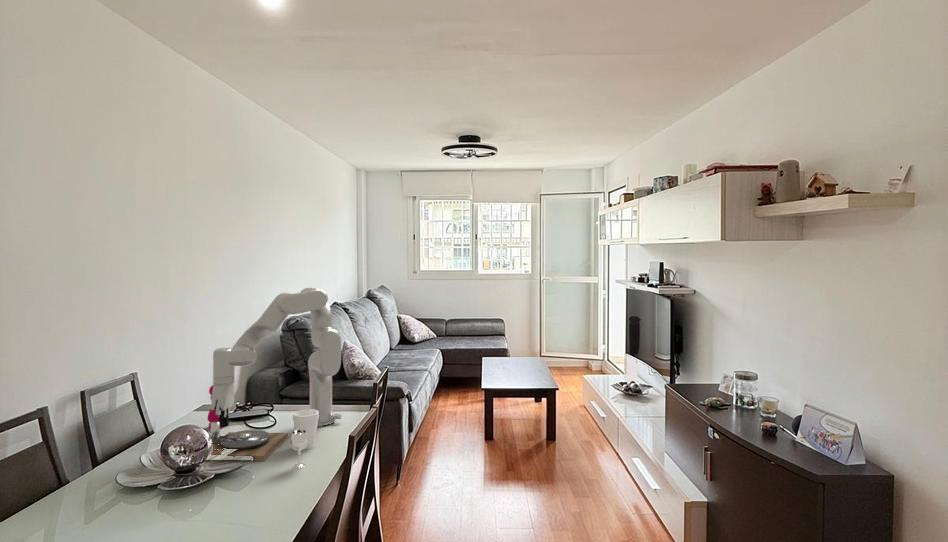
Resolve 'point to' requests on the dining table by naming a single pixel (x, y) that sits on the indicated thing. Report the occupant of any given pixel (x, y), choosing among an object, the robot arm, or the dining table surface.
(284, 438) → the brown flat board
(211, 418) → the pepper mill
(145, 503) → the dining table surface
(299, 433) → the wineglass
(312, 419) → the foam cup
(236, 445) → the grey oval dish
